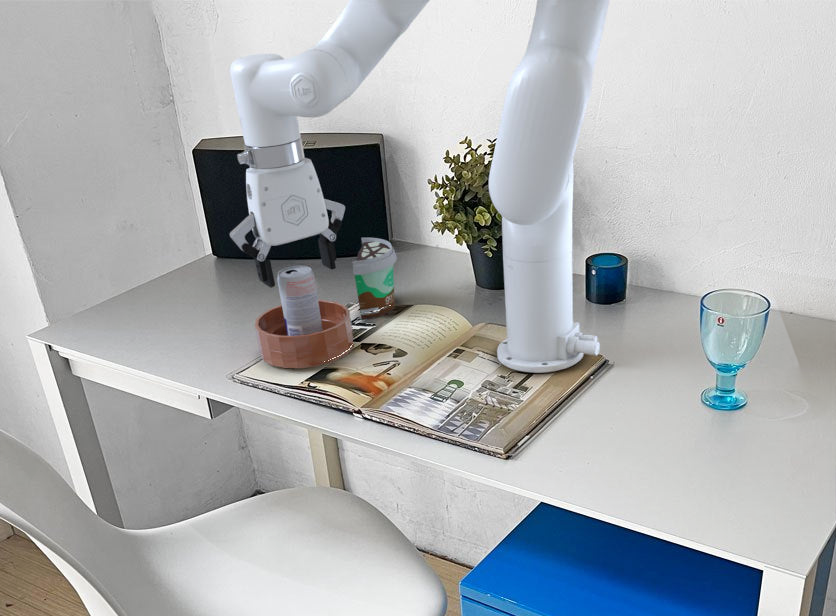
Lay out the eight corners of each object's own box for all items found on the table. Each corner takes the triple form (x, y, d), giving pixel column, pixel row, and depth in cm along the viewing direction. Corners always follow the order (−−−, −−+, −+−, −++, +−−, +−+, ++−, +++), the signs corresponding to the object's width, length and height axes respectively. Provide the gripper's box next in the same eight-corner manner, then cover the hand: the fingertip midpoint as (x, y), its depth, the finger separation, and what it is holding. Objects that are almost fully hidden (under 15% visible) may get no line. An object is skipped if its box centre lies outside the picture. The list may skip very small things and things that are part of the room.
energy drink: (313, 337, 152) (301, 262, 145) (332, 347, 148) (320, 271, 142) (283, 348, 149) (269, 272, 143) (301, 358, 146) (288, 281, 139)
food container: (398, 320, 157) (391, 260, 152) (360, 322, 157) (351, 262, 152) (405, 292, 167) (398, 234, 162) (369, 294, 168) (361, 236, 162)
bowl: (365, 333, 154) (361, 300, 151) (338, 373, 142) (332, 338, 139) (281, 332, 156) (275, 299, 153) (247, 370, 145) (240, 335, 142)
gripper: (226, 173, 127) (254, 299, 136) (344, 145, 134) (364, 266, 144) (205, 164, 132) (234, 285, 141) (320, 137, 140) (340, 254, 149)
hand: (299, 275), depth 142 cm, fingers open, 9 cm apart
